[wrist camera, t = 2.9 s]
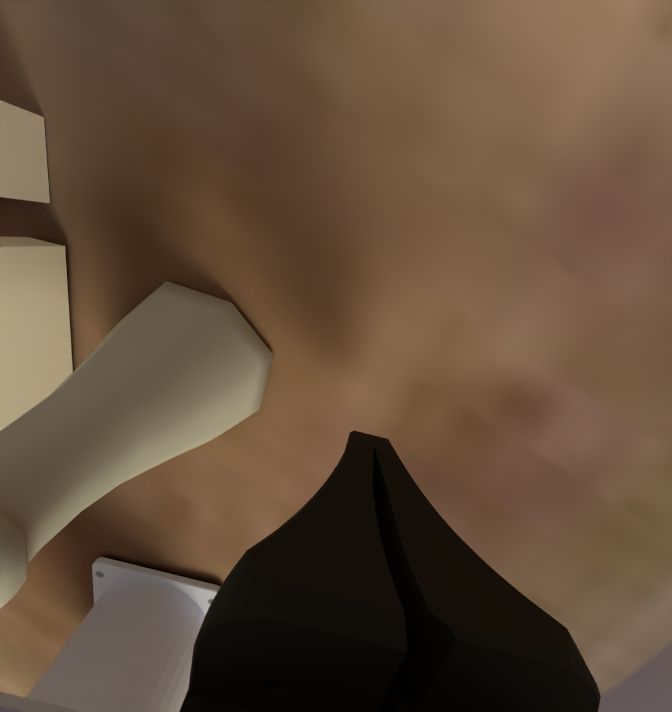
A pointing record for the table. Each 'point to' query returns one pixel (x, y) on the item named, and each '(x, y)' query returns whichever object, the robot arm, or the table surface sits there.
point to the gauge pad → (32, 324)
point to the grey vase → (125, 415)
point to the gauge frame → (22, 155)
